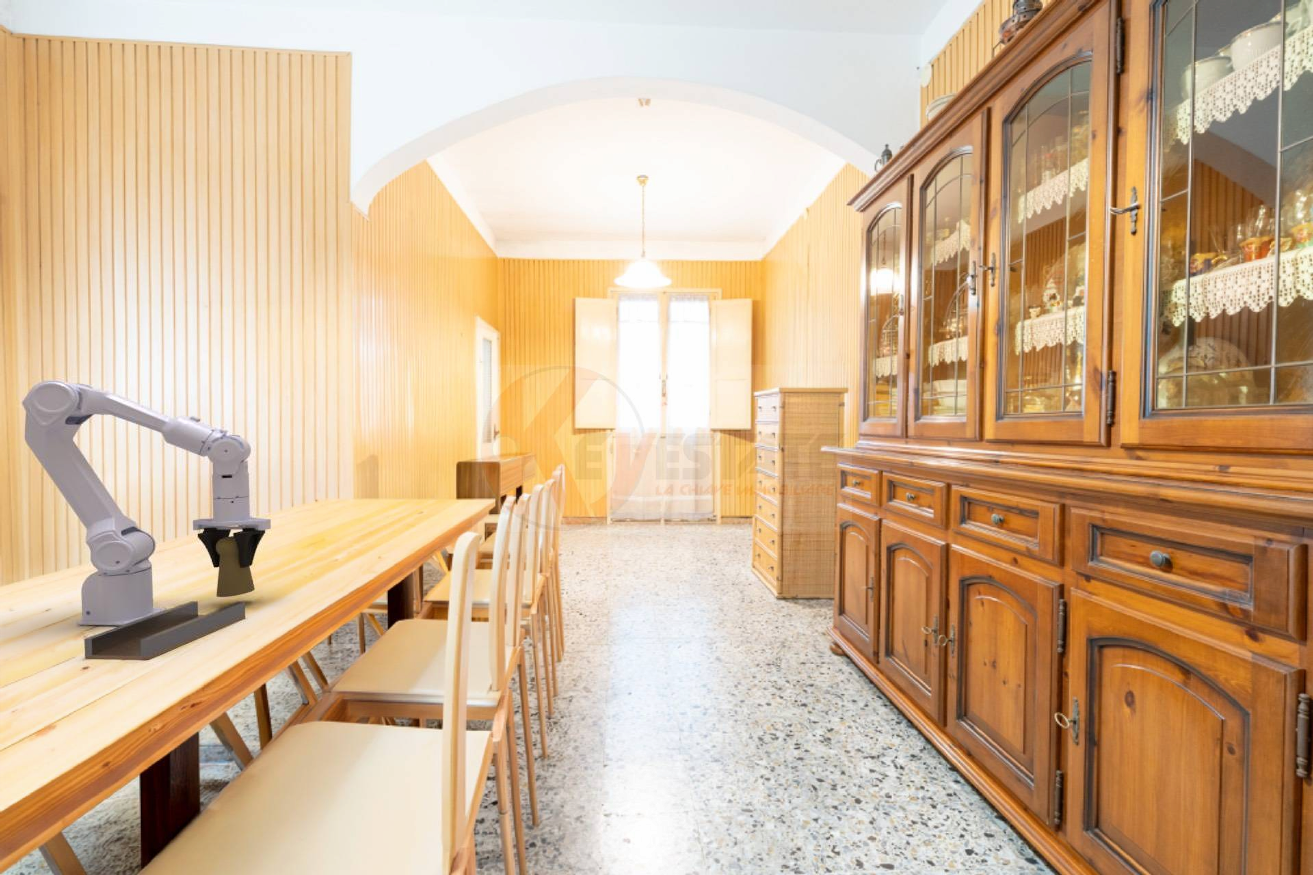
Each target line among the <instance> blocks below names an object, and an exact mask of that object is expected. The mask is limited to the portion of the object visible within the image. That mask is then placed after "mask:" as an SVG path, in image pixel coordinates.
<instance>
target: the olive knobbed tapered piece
mask: <svg viewBox="0 0 1313 875" xmlns="http://www.w3.org/2000/svg"><path fill="white" fill-rule="evenodd" d="M216 551H217V553H218V554H219V555H220V563H219V567H218V574H217V583H216V584H217V587H216V597H217V598H229V597H236V596H241V595H245V594H248V593H252V592H254V591H255V589H256V588H255V584H254V579H253V575H252V572H251V568H250V567H251V566H248V567H245V568H241V567H240V563H239V551H238V546H237V543H236V540H235V538H234V536H233V535H231V536H230V535H229V537H226V538H223V539H220V540H219V541H218V542H217V544H216Z"/></svg>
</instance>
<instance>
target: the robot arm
mask: <svg viewBox="0 0 1313 875" xmlns="http://www.w3.org/2000/svg"><path fill="white" fill-rule="evenodd" d="M21 404H22V406H23V408H24V410H25V422H24V423H25V424H24V441H25V443H26V445H27V446H28V447H29V449H30V451H31V452H32V453H33V455H34V456H35V457H36V459H37V460H38V462H39V463H40V465H41V466H42V468H43V469H44V470H45V471H46V473H47V474H48V476H49V478H50V479H51V480H52V481H53V483H54V485H55V486H56V488H57V489H58V490H59V492H60V493H61V495H62V496H63V497H64V499H65V500H66V501H67V503H68V505H69V506H70V507H71V509H72V511H74V513H75V515H76V516H77V517H78V519H79V521H80V522H81V523H82V524H83V526H84V527H85V530H86V532H85V543H86V545H87V546H88V548H89V551H90V561H91V564H92V566H93V567H94V569H96V570H97V571H95V572H93V573H90V575H88V576H87V577H86V578H85V580H83V583H82V586H81V590H80V591H81V615H82V616H81V617H82V618H81V619H82V620H80V621H78V622H77V623H76V625H78V626H122V625H125V624H128V623H131V622H134V621H137V620H140V619H142V618H145V617H148V616H151V615H154V614H157V613H159V612H162V611H165V610H168V609H167V608H163V607H162V608H159V607H154V590H153V586H154V585H153V567H152V566H153V564H152V562H151V561H150V560H149V558H151V556H152V555H153V554H154V552H155V550H156V548H157V546H156V545H157V543H156V540H155V538H154V537H153V536H152V535H151V534H150V533H149V532H147V531H145V530H143V529H142V528H140V526H138V523H136V521H134V520H133V519H132V518H130V517H128V516H127V515H125V514H124V513H123V511H122V510H121V509H120V507H119V505H118V504H117V503H116V501H115V500H114V498H113V497H112V496H111V494H110V492H109V491H108V489H107V488H106V486H105V485H104V484H103V482H102V481H101V479H100V478H99V476H98V475H97V473H96V472H95V471H94V469H93V468H92V466H91V465H90V463H89V462H88V460H87V459H86V457H85V456H84V454H83V453H82V452H81V450H80V448H79V447H78V445H77V444H76V443H75V441H74V437H75V436H76V434H77V433H78V430H80V428H81V426H82V425H83V424H84V423H85V422H87V421H88V420H89V419H90V418H92V417H93V416H95V415H98V416H99V415H101V416H102V415H103V416H104V415H105V416H107V415H108V416H109V415H110V416H113V417H116V418H119V419H121V420H123V421H124V420H125V421H128V422H130V423H133V424H135V425H138V426H142V427H144V428H147V429H150V430H152V431H155V432H157V433H160V434H161V435H162V436H163V439H164V441H165V443H167V444H169V445H171V446H175V447H177V448H179V449H182V450H185V451H188V452H190V453H192V454H194V455H198V456H199V457H207V458H208V460H209V461H210V462H211V464H212V474H211V478H212V479H211V485H212V488H211V489H212V518H199V519H194V520H192V529H193V531H200V530H202V532H199V533H197V538H198V539H199V541H201V542H202V544H203V546H204V547H205V549H206V551H207V553H208V555H209V558H210V560H211V563H212V566H213V568H219V563H220V555H219V554H218V553H217V551H216V544H217V542H218V541H219V540H220V539H223V538H226V537H230V533H231V531H233V530H236V531H235V532H233V533H232V536H234V538H235V540H236V543H237V546H238V551H239V563H240V567H241V568H245V567H248V566H250V567H252V566H253V564H254V563H253V562H254V558H255V554H256V552H257V549H258V547H259V545H260V542H261V540H262V538H263V537H264V536H265V534H266V531H267V530H270V529H271V528H272V527H271V526H272V525H271V523H272V522H271V518H260V517H259V518H258V517H253V516H251V514H250V513H251V510H250V509H251V507H250V475H249V474H250V473H249V465H248V464H249V463H248V462H249V461H248V460H247V459H248V458H249V457H250V455H251V451H252V449H251V445H250V443H249V441H248V440H246V439H245V438H243V437H241V436H240V435H239V434H227V433H228V430H227V429H225V428H220V429H219V428H215V427H213V426H211V425H209V424H206V423H203V422H201V418H200V417H198V416H195V415H191V416H186V415H180V416H177V417H171V416H168V415H165V414H163V413H161V412H158V411H157V410H154V409H152V408H150V407H148V406H145V405H143V404H140V403H138V402H135V401H133V400H131V399H129V398H126V397H125V396H122V395H120V394H118V393H117V394H116V393H114V392H110V391H108V390H103V389H100V388H94V387H93V386H91V385H88V384H84V383H71V382H66V381H62V380H57V379H48V380H43V381H41V382H38V383H36V384H34V386H32V388H31V389H30V390H29V392H28V393H27V394H26V396H25V397H24V399H23V400H22V401H21ZM237 530H240V531H237Z"/></svg>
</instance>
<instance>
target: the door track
mask: <svg viewBox="0 0 1313 875" xmlns="http://www.w3.org/2000/svg"><path fill="white" fill-rule="evenodd" d="M244 619H246V602H245V601H236V602H234V603H232V604H229V605H227V606H224V607H222V608H219V609H217V610H214V611H212V612H211V611H210V612H208V613H206V614H199V602H198V601H196V600H195V601H194V600H192V601H189V602H185V603H182V604H179V605H177V606H174V607H171V608H169V609H167V610H165V611H162V612H159V613H157V614H154V615H151V616H148V617H145V618H142V619H140V620H137V621H134V622H131V623H128V624H125V625H119V626H117V627H115V628H112V629H109V630H105V631H103V632H100V633H97V634H94V635H91V636H89V637H86V638H84V639H83V642H84V659H89V660H90V659H94V660H95V659H98V660H99V659H100V660H103V659H104V660H105V659H106V660H144V661H145V660H146V661H147V660H151V659H153V658H156V657H159V656H160V655H163V654H165V653H167V652H169V651H172V650H174V649H177V648H179V647H181V646H182V647H183V645H186V644H189V643H191V642H193V641H195V640H197V639H199V638H202V637H204V636H207V635H209V634H212V633H214V632H217V631H219V630H221V629H223V628H226V627H228V626H230V625H233V624H236V623H237V622H239V621H242V620H244Z"/></svg>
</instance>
